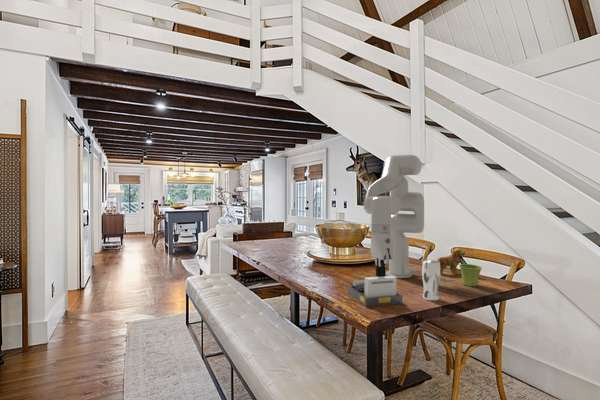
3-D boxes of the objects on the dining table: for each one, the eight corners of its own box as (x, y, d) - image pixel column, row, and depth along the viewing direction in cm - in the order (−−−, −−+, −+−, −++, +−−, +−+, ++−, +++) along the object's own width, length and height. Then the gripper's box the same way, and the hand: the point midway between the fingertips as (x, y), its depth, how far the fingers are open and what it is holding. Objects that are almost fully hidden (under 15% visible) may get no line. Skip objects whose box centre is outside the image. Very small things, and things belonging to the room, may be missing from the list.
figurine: (438, 275, 168) (437, 250, 168) (432, 273, 174) (431, 248, 174) (465, 274, 169) (465, 249, 169) (459, 271, 176) (458, 247, 175)
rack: (380, 290, 142) (380, 277, 142) (402, 303, 126) (402, 289, 126) (347, 292, 138) (347, 279, 138) (365, 306, 122) (366, 292, 122)
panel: (392, 298, 130) (392, 275, 130) (396, 300, 127) (396, 277, 127) (364, 300, 127) (364, 277, 127) (367, 303, 124) (368, 279, 124)
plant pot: (479, 283, 154) (479, 264, 154) (483, 288, 145) (484, 269, 145) (457, 281, 157) (457, 263, 157) (460, 286, 148) (460, 267, 148)
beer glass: (418, 295, 135) (418, 259, 135) (434, 295, 136) (435, 259, 135) (426, 301, 128) (426, 263, 128) (443, 301, 129) (444, 263, 128)
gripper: (400, 231, 120) (399, 280, 120) (380, 226, 134) (379, 271, 135) (382, 231, 118) (381, 282, 118) (363, 227, 132) (363, 272, 133)
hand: (380, 276), depth 126 cm, fingers closed
